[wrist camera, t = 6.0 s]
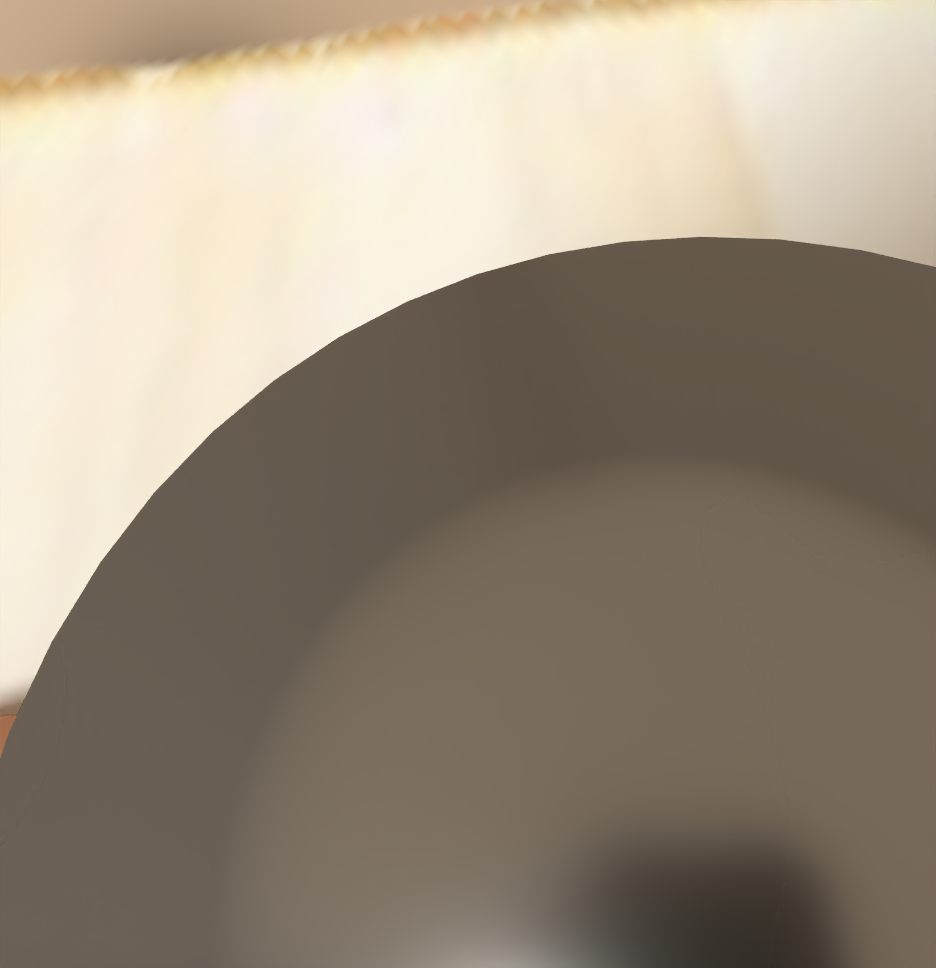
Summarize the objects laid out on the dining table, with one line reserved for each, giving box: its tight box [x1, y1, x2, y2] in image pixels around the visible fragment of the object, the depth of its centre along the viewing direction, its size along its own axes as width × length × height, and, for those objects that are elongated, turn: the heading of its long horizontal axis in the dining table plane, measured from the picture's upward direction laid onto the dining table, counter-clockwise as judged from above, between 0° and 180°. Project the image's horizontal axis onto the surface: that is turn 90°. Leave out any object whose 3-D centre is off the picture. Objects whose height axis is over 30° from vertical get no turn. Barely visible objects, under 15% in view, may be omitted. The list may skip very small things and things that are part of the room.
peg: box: [0, 237, 936, 968], centre depth 8 cm, size 5×5×13 cm
